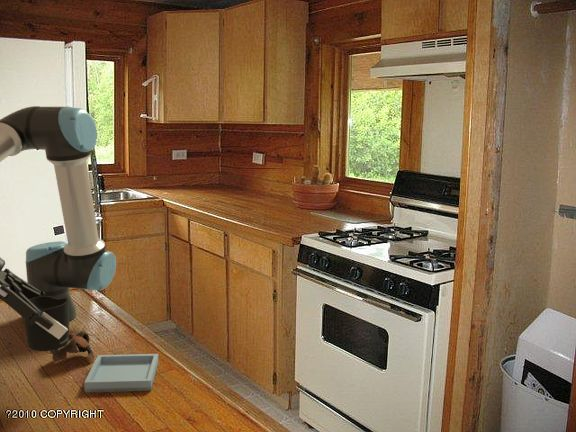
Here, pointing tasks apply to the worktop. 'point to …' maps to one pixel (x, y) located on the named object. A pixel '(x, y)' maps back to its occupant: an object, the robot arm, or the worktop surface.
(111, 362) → the tray
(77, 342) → the brown hollow rounded piece
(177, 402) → the worktop surface
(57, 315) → the pen holder
